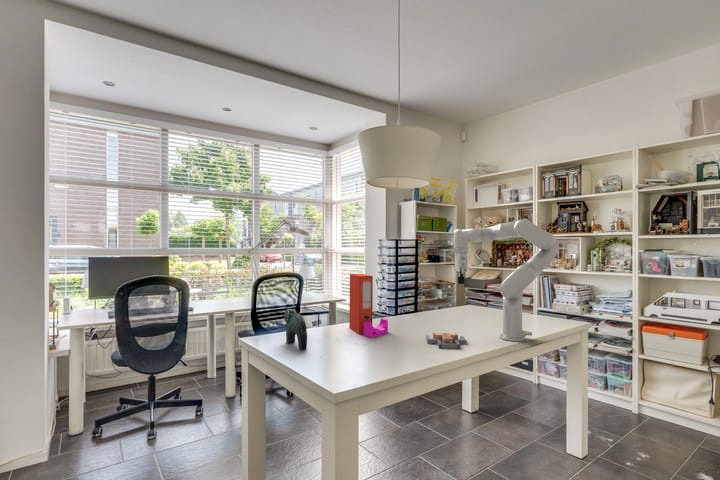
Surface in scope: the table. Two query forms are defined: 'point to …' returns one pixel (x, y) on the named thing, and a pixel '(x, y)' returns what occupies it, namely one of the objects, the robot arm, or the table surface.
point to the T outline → (446, 345)
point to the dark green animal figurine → (295, 328)
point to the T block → (446, 337)
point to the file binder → (360, 301)
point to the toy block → (377, 331)
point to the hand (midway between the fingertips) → (461, 283)
